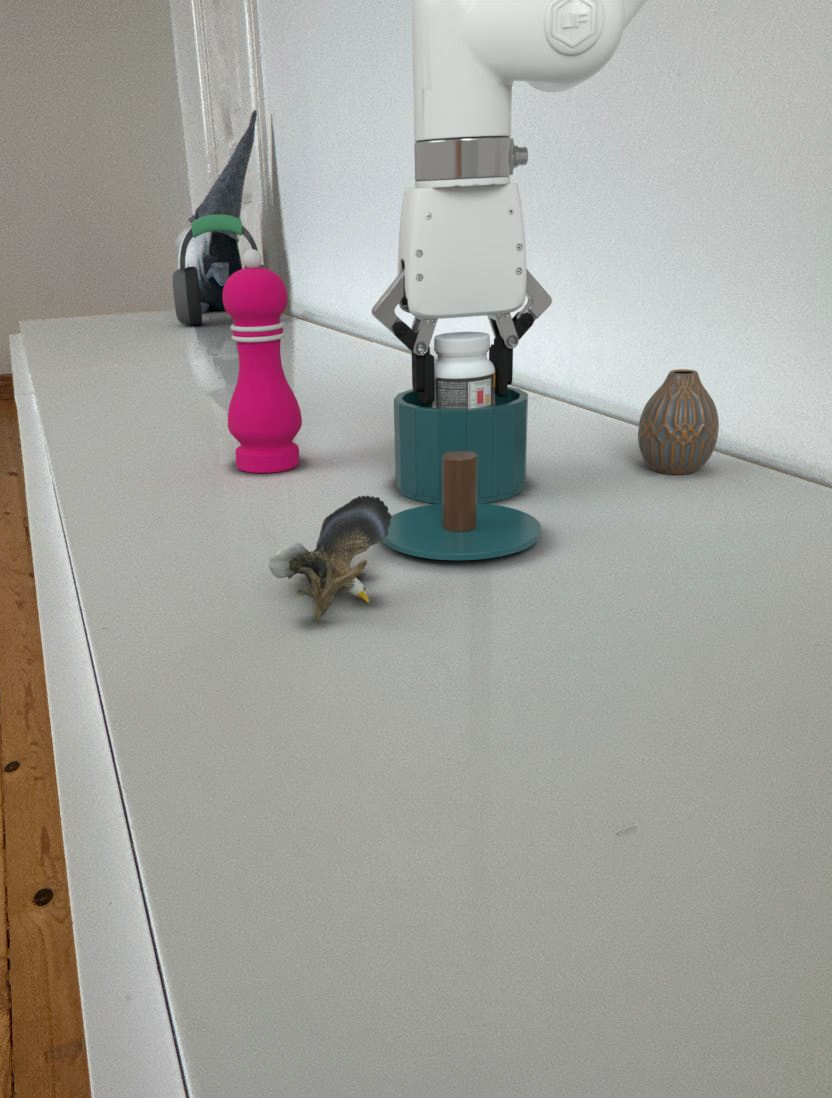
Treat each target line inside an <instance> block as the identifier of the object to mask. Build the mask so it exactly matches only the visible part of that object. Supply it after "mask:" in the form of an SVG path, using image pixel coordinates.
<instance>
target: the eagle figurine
mask: <svg viewBox="0 0 832 1098" xmlns="http://www.w3.org/2000/svg"><path fill="white" fill-rule="evenodd" d="M385 504H386V503H385V502H384V501H383V500H381V498H380V496H376V497H375V496H370V495H362V496H356V497H354V498H352V499H351V500H350V501H348V502H347V503H345V504H344V505H343V506H339V508H337V509H336V510H334V512H332V513H330V514H329V515H328V516H327V515H326V517H325V518H324V519H323V521H322V523H321V527H320V531H319V536H318V539H317V542H316V547H315V549H314V550H311V551H309V550H308V549H307V548H306V547H305V546H304V545H303V544H302V543H300V542H293V543H292V544H288V545H286V546H284V547H283V548H281V549H279V550H278V551H276V552H275V553H274V554H273V555H272V556H271V557H269V563H268V569H269V570H270V572H271V574H272V576H274V578H277V579H285V578H288V580H290V579H291V578H293V577H294V576H295V575H297V574H300V575H305V577H306V578H307V579H308V582H309V584H310V587H311V588H305V587H303V588H299V589H297V590H296V594H297V595H299V596H308V597H311V598H312V599H313V605H314V611H313V622H314V623H318V622H319V621H320V619H321V618H322V617H323V616H324V615H325V612H327V611H328V610H329V608H330V607H329V606H332V601H333V599H334V596H335V595H336V593H337V591H338V590H339V591H345V592H348V593H350V594H351V595H353V596H355V597H357V598H360V599H362V600H364V601H365V602H366V603H367V604H369V603H370V599H369V597H368V595H367V587H366V586H365V585H364V584H363V583H362V582H361V581H360V580H359V579H358V577H359V576H364V575H366V573H365V572H363V571H364V569H365V568H366V567H367V564H368V560H367V559H362V560H361V561H360V562H358V563H357V564H356V565H355V567H352V568H351V563H352V561H353V558H354V557H355V556H357V555H359V554H361V553H364V552H366V551H368V550H369V549H370V547H372V546H373V545H377V544H378V543H381V542H383V541H382V540H383V539H384V538H385V537H387V535H388V528H389V527H390V525H391V522H390V520H391V518H392V514H391V513H390V512H389V507H388V506H387V505H385Z"/></svg>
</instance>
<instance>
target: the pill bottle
mask: <svg viewBox="0 0 832 1098" xmlns="http://www.w3.org/2000/svg"><path fill="white" fill-rule="evenodd" d="M490 339H491V338H490V334H489V333H487V332H481V331H453V332H445V333H440V334H437V335H435V336H434V339H433V350H434V351H433V352H434V353H435V354H436V356H437V359H436V361H434V372H435V401H433V402H432V403H430V408H439V409H470V408H482V407H491V406H495V367H494V365H493V363H492V362H491V361H490V360H489V358H488V353H489V348H490V347H491V340H490Z"/></svg>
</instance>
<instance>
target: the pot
mask: <svg viewBox="0 0 832 1098" xmlns="http://www.w3.org/2000/svg"><path fill="white" fill-rule="evenodd" d="M528 415H529V393H527V392H526V391H525V390H522V389H520V388H518V387H514V386H508V387H507V397H499V396H497V395H496V394H495V406H491V407H482V408H470V409H439V408H430V403H425V402H424V401H422V400H421V399H420V398H419V396H418V392H414V391H413V388H410V389H408V390H405V391H402V392H399V393H397V395H396V396H395V397H394V398H393V427H394V428H393V429H394V463H395V464H394V466H395V467H394V469H395V470H394V471H395V483H396V489H397V492H398V493H399V494H401V495H402V496H404V497H406V498H408V499H411V500H413V501H418V502H423V503H428V504H442V455H443V454H445V453H448V452H454V451H468V452H473V453H476V454H477V456H478V460H477V503H483V504H490V503H494V502H495V503H496V502H499V501H503V500H507V499H510V498H513V497H515V496H517V495H519V494H521V493H522V492H523V491H524V489H525V486H526V477H527V476H526V475H527V473H526V472H527V450H528V449H527V448H528V447H527V444H528Z"/></svg>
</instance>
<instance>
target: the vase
mask: <svg viewBox="0 0 832 1098" xmlns="http://www.w3.org/2000/svg"><path fill="white" fill-rule="evenodd" d="M719 429H720V421H719V413H718V410H717V407H716V404H715V401H714V400H713V398H712V396H711V395H710V393H709V392H708V391H707V389H706V388H705V386H704V385H703V383H702V381H701V378H700V375H699V372H698V371H697V370H694V369H686V368H685V369H683V368H682V369H681V368H680V369H672V370H670V371H669V372H668V374H667V376H666V378H665V379H664V381H663V382H662V384H661V385H660V386H659V387H658V388H657V389H656V390H655V392H653V394H652V395H651V397H650V398H649V399H648V400H647V402H646V403H645V405H644V407H643V409H642V411H641V414H640V418H639V421H638V429H637V442H638V448H639V452H640V454H641V457H642V458H643V460H644V462H645V463H646V464H647V465H648V467H649V468H651V469H652V471H654V472H656V473H660V474H667V475H688V474H692V473H695V472H697V471H698V470H699V469H701V468H702V467H703V466H704V465H705V464H706V463H707V462H708V461H709V460H710V458H711V456H712V455H713V452H714V451H715V448H716V446H717V442H718V438H719Z"/></svg>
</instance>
